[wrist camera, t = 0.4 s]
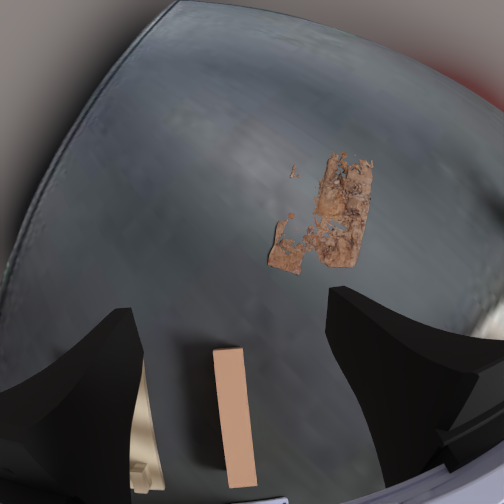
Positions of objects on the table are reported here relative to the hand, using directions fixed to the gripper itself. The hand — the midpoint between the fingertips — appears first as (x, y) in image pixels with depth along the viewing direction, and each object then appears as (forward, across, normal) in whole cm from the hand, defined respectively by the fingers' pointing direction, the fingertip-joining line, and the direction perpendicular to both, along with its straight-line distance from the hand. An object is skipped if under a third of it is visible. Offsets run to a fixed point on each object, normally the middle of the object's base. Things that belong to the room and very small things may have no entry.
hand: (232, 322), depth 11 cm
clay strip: (+15, 0, +24) cm, 28 cm away
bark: (+30, -15, +4) cm, 34 cm away
